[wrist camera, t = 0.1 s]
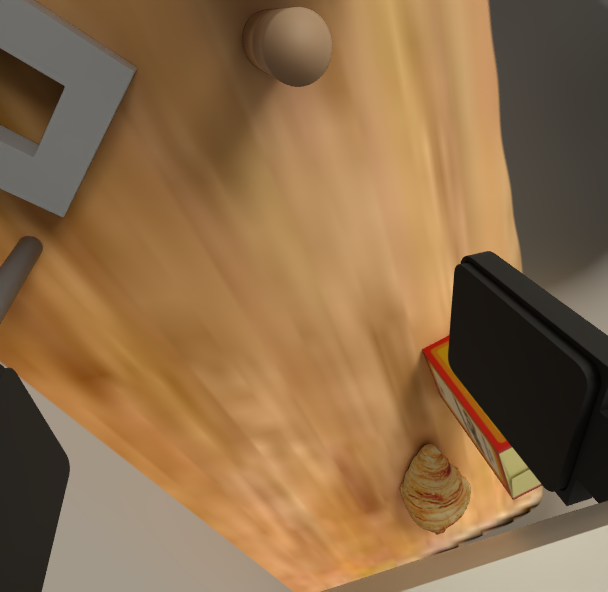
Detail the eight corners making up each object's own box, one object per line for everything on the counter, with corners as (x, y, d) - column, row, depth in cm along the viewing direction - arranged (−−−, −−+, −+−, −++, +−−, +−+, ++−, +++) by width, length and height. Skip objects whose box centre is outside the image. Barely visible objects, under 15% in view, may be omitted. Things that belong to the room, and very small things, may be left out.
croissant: (394, 426, 67) (390, 474, 60) (467, 429, 63) (469, 480, 57) (410, 506, 78) (407, 554, 72) (472, 512, 75) (475, 563, 68)
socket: (-54, -57, 27) (-77, -65, 25) (137, 68, 33) (134, 72, 30) (-109, 118, 31) (-134, 127, 29) (71, 204, 37) (63, 217, 34)
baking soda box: (422, 349, 55) (500, 455, 42) (470, 324, 55) (564, 422, 41) (440, 396, 60) (515, 503, 47) (484, 373, 60) (572, 474, 47)
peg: (260, -4, 33) (290, -11, 24) (304, 33, 34) (345, 38, 26) (232, 48, 34) (250, 58, 25) (276, 81, 36) (306, 100, 27)
